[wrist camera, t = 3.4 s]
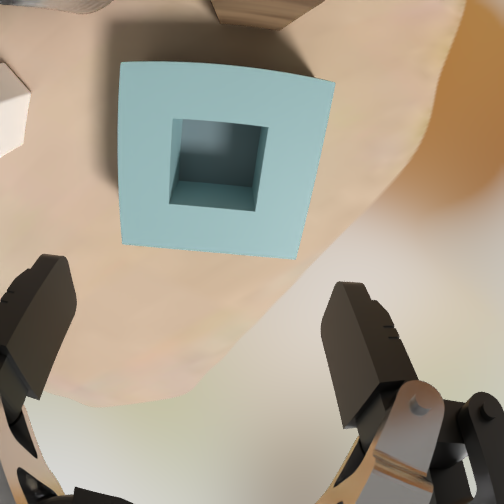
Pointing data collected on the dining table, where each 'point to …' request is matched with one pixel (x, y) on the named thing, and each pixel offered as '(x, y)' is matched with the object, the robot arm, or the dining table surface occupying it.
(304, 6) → the square peg
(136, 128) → the socket block
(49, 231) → the dining table surface
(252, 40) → the dining table surface
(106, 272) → the dining table surface
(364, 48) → the dining table surface
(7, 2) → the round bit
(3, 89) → the jar
